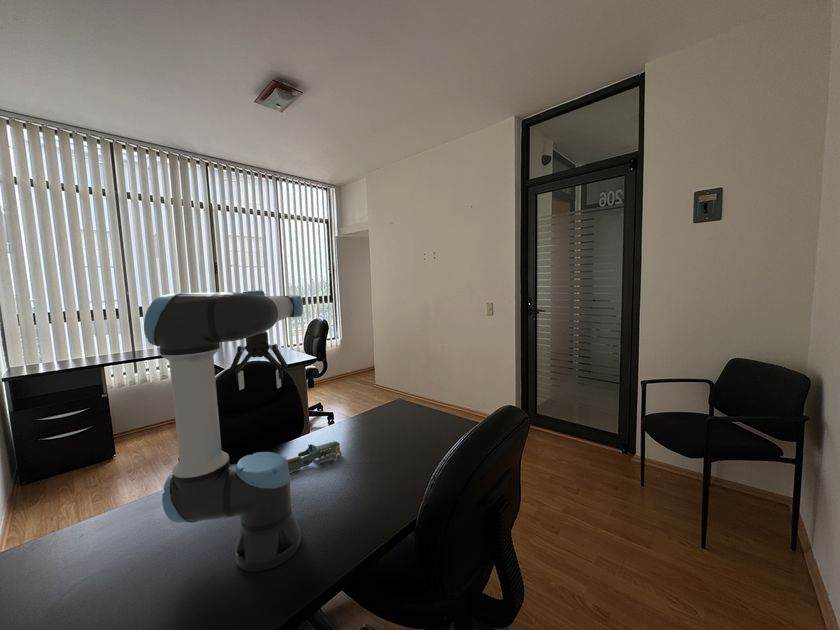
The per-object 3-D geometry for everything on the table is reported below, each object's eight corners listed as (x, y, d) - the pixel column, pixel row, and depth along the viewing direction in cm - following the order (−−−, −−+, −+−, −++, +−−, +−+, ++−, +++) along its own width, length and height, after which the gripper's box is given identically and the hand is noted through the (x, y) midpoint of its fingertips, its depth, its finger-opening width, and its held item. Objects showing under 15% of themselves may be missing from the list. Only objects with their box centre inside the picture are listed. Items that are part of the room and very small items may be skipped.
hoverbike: (346, 460, 132) (345, 439, 131) (277, 486, 116) (275, 462, 116) (335, 451, 139) (334, 431, 138) (269, 474, 124) (267, 451, 123)
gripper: (293, 329, 135) (297, 383, 137) (226, 331, 133) (230, 386, 135) (288, 332, 127) (291, 389, 129) (216, 335, 126) (221, 392, 128)
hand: (260, 388), depth 132 cm, fingers open, 13 cm apart
